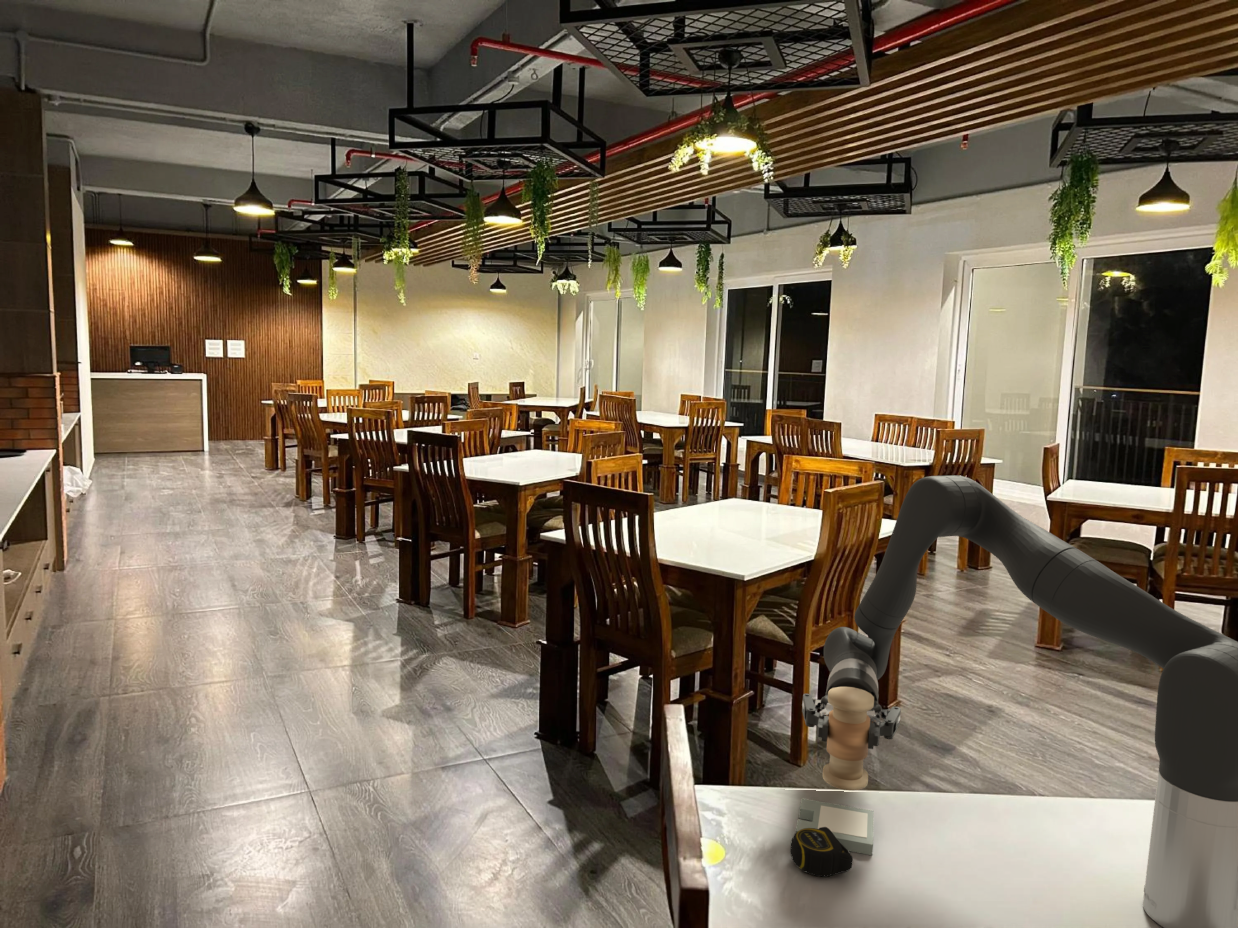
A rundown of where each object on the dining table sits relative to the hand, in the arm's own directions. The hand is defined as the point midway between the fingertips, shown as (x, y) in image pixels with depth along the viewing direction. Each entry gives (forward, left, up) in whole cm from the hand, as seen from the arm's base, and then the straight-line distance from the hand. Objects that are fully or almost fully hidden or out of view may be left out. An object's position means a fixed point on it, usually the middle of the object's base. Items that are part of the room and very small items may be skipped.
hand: (847, 738), depth 115 cm
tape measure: (+2, +6, -15) cm, 16 cm away
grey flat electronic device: (+1, -2, -15) cm, 15 cm away
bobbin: (0, -3, -7) cm, 7 cm away
